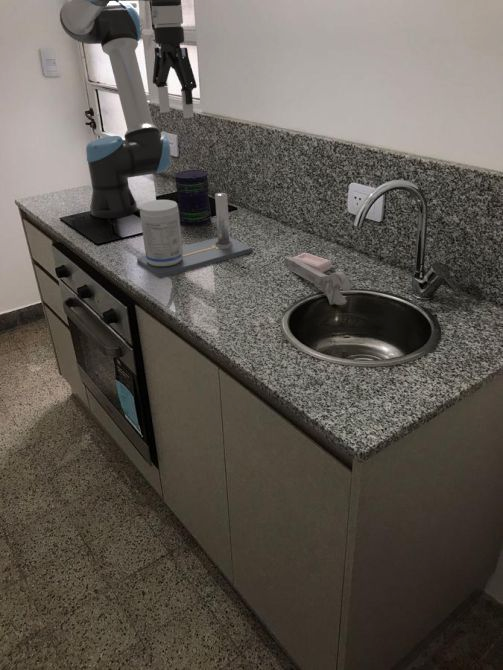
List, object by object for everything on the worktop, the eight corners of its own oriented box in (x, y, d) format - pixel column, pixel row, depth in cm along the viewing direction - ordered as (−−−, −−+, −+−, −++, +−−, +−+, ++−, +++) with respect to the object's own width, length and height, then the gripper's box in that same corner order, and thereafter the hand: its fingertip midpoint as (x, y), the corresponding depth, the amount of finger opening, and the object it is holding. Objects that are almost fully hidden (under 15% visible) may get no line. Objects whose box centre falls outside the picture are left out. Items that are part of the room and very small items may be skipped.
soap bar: (318, 275, 137) (318, 266, 135) (290, 266, 142) (290, 257, 141) (332, 269, 140) (332, 260, 139) (304, 260, 146) (304, 251, 144)
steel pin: (212, 244, 153) (208, 194, 146) (226, 241, 155) (223, 191, 148) (221, 249, 150) (218, 198, 143) (235, 245, 152) (233, 194, 145)
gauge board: (137, 262, 146) (136, 257, 146) (226, 239, 160) (226, 234, 159) (159, 278, 137) (159, 273, 136) (252, 251, 151) (252, 247, 150)
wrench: (290, 276, 143) (351, 312, 117) (284, 277, 143) (343, 314, 117) (289, 245, 140) (351, 276, 114) (282, 247, 139) (343, 277, 114)
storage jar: (176, 220, 176) (170, 172, 169) (205, 215, 180) (201, 168, 172) (185, 229, 168) (180, 179, 161) (215, 223, 172) (212, 175, 164)
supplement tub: (150, 254, 148) (143, 199, 140) (185, 253, 147) (180, 198, 140) (143, 268, 139) (135, 211, 132) (181, 267, 139) (174, 209, 132)
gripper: (134, 26, 148) (144, 111, 159) (178, 26, 130) (186, 121, 141) (159, 25, 152) (167, 108, 162) (206, 24, 134) (211, 118, 145)
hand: (176, 114), depth 152 cm, fingers open, 13 cm apart
